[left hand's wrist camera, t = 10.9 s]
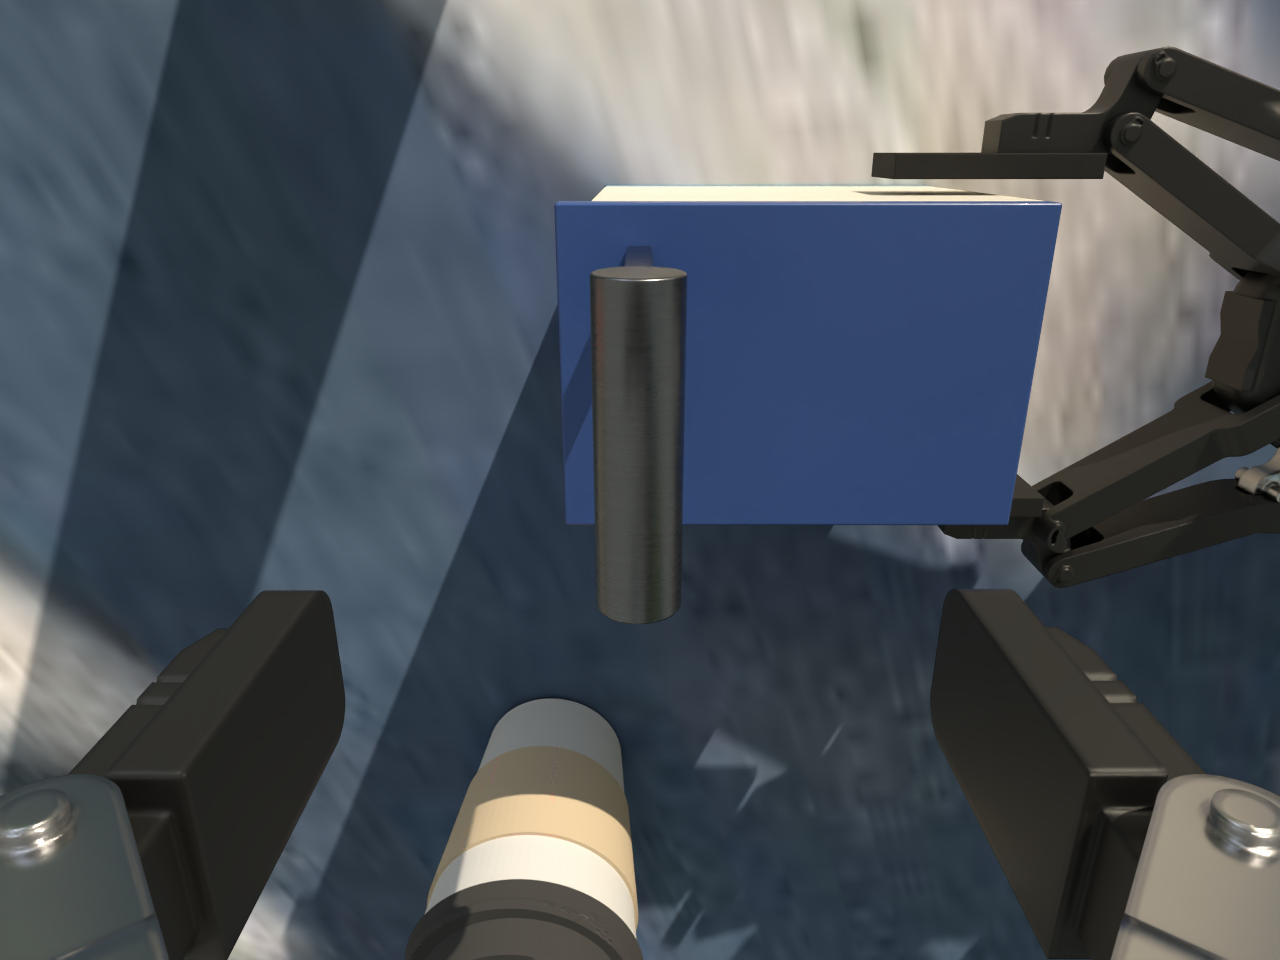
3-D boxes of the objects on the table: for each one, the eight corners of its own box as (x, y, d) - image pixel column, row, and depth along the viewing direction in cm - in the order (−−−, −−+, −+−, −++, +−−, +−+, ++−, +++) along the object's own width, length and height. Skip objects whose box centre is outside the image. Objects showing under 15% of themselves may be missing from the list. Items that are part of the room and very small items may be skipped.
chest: (608, 414, 38) (596, 513, 28) (605, 185, 34) (589, 200, 24) (899, 414, 38) (996, 513, 28) (925, 185, 34) (1047, 200, 24)
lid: (567, 513, 27) (537, 662, 19) (557, 201, 24) (515, 225, 16) (997, 514, 27) (1142, 663, 19) (1048, 201, 24) (1249, 226, 16)
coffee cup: (559, 850, 46) (525, 1152, 32) (431, 754, 44) (334, 1034, 30) (679, 753, 44) (697, 1033, 30) (549, 646, 42) (504, 896, 28)
